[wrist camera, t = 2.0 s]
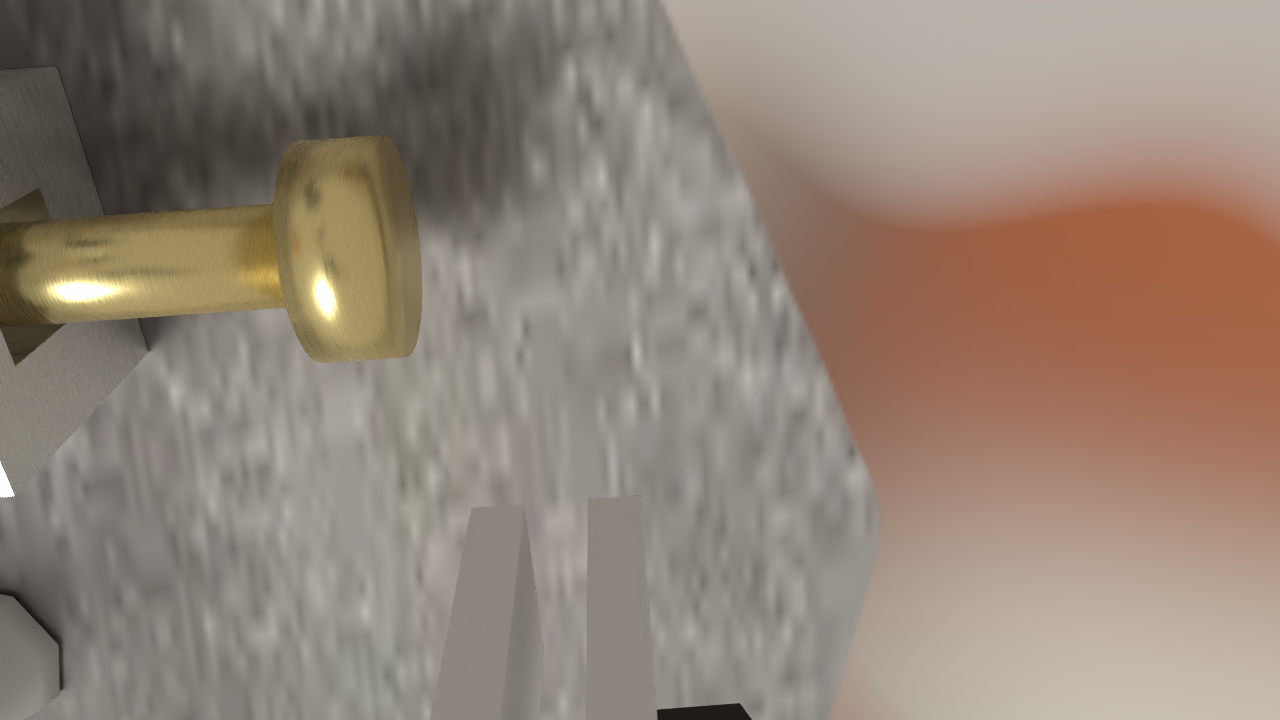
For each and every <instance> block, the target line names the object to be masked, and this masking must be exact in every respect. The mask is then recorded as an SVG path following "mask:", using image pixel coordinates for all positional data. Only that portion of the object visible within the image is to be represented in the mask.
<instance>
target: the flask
mask: <svg viewBox="0 0 1280 720" xmlns="http://www.w3.org/2000/svg"><path fill="white" fill-rule="evenodd" d="M59 695H60V687H59V645H58V644H57V643H56V642H55V641H54V640H53V639H52V638H51V637H50V635H49V634H48V633H47V632H46V631H45V630H44V629H43V628H42V627H41V626H40V625H39V624H38V623H37V622H36V621H35V619H34V618H33V617H32V616H31V615H30V614H29V613H28V612H27V611H26V610H25V609H24V608H23V607H22V606H21V605H20V604H19V602H18V601H17V600H16V599H15V598H14V597H13V596H7V595H1V594H0V720H25V719H26V718H28V717H29V716H31V715H32V714H34V713H35V712H36V711H38V710H39V709H41V708H42V707H44V706H45V705H46V704H48V703H49V702H51V701H52V700H53V699H55V698H56V697H57V696H59Z"/></svg>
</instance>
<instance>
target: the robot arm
mask: <svg viewBox="0 0 1280 720" xmlns="http://www.w3.org/2000/svg"><path fill="white" fill-rule="evenodd" d="M543 655H544V644H543V637H542V630H541V622H540V615H539V608H538V601H537V593H536V586H535V579H534V572H533V564H532V557H531V550H530V543H529V535H528V528H527V521H526V514H525V506H524V504H519V505H505V506H492V507H479V508H472V509H471V514H470V519H469V524H468V530H467V535H466V540H465V545H464V550H463V555H462V561H461V566H460V571H459V576H458V581H457V586H456V592H455V597H454V602H453V607H452V612H451V617H450V623H449V628H448V633H447V638H446V643H445V648H444V654H443V659H442V664H441V669H440V674H439V679H438V685H437V690H436V695H435V700H434V705H433V710H432V716H431V720H539V717H540V701H541V686H542V670H543ZM586 720H752V719H751V718H750V717H749V715H748V714H747V712H746V711H745V710H744V708H743V707H742V706H741V704H740V703H737V704H724V705H711V706H698V707H685V708H672V709H659V710H657V706H656V693H655V680H654V667H653V654H652V640H651V627H650V614H649V601H648V588H647V575H646V561H645V548H644V535H643V522H642V509H641V495H640V496H626V497H613V498H599V499H588V568H587V681H586Z"/></svg>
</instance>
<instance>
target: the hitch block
mask: <svg viewBox="0 0 1280 720" xmlns="http://www.w3.org/2000/svg"><path fill="white" fill-rule="evenodd" d="M93 216H105V215H104V212H103V209H102V206H101V203H100V199H99V196H98V193H97V190H96V187H95V184H94V181H93V178H92V175H91V172H90V168H89V165H88V162H87V159H86V156H85V153H84V150H83V147H82V144H81V140H80V137H79V134H78V131H77V128H76V125H75V122H74V119H73V116H72V113H71V109H70V106H69V103H68V100H67V97H66V94H65V91H64V88H63V85H62V81H61V78H60V75H59V72H58V69H57V66H53V67H38V68H24V69H9V70H0V223H8V222H22V221H36V220H50V219H64V218H79V217H93ZM148 353H149V352H148V348H147V345H146V342H145V339H144V336H143V333H142V330H141V327H140V324H139V321H138V318H132V319H118V320H104V321H90V322H76V323H62V324H48V325H34V326H21V327H7V328H0V497H7V496H15V495H16V494H17V493H18V492H19V490H20V489H21V488H22V487H23V486H24V485H25V484H26V483H27V482H28V481H29V480H30V479H31V478H32V477H33V476H34V474H35V473H36V472H37V471H38V470H39V469H40V468H41V467H42V466H43V465H44V464H45V463H46V462H47V461H48V460H49V458H50V457H51V456H52V455H53V454H54V453H55V452H56V451H57V450H58V449H59V448H60V447H61V446H62V445H63V443H64V442H65V441H66V440H67V439H68V438H69V437H70V436H71V435H72V434H73V433H74V432H75V431H76V430H77V429H78V427H79V426H80V425H81V424H82V423H83V422H84V421H85V420H86V419H87V418H88V417H89V416H90V415H91V414H92V413H93V411H94V410H95V409H96V408H97V407H98V406H99V405H100V404H101V403H102V402H103V401H104V400H105V399H106V398H107V397H108V395H109V394H110V393H111V392H112V391H113V390H114V389H115V388H116V387H117V386H118V385H119V384H120V383H121V382H122V381H123V379H124V378H125V377H126V376H127V375H128V374H129V373H130V372H131V371H132V370H133V369H134V368H135V367H136V366H137V364H138V363H139V362H140V361H141V360H142V359H143V358H144V357H145V356H146V355H147V354H148Z"/></svg>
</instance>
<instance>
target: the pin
mask: <svg viewBox="0 0 1280 720" xmlns="http://www.w3.org/2000/svg"><path fill="white" fill-rule="evenodd" d="M285 307H286V309H287V312H288V315H289V318H290V321H291V324H292V326H293V329H294V331H295V333H296V336H297V338H298V340H299V341H300V343H301V345H302V347H303V348H304V350H305V351H306V353H307V354H308V355H309V356H310V357H311V358H312V359H314V360H315V361H316V362H319V363H331V362H345V361H359V360H372V359H386V358H400V357H408V356H410V355H411V353H412V352H413V350H414V348H415V346H416V343H417V339H418V335H419V329H420V323H421V312H422V267H421V253H420V243H419V234H418V226H417V220H416V214H415V208H414V203H413V198H412V193H411V189H410V185H409V181H408V177H407V174H406V171H405V168H404V165H403V162H402V159H401V157H400V154H399V152H398V150H397V148H396V146H395V145H394V143H393V142H392V140H391V139H390V138H389V137H388V136H385V135H376V136H362V137H347V138H333V139H319V140H304V141H295V142H293V143H291V144H290V145H289V146H288V147H287V149H286V150H285V152H284V154H283V156H282V159H281V161H280V164H279V168H278V172H277V177H276V184H275V193H274V204H263V205H249V206H234V207H220V208H206V209H192V210H178V211H164V212H149V213H135V214H121V215H107V216H93V217H79V218H64V219H50V220H36V221H22V222H8V223H0V328H7V327H21V326H34V325H48V324H62V323H76V322H90V321H104V320H118V319H132V318H146V317H160V316H174V315H187V314H201V313H215V312H229V311H243V310H257V309H271V308H285Z"/></svg>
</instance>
